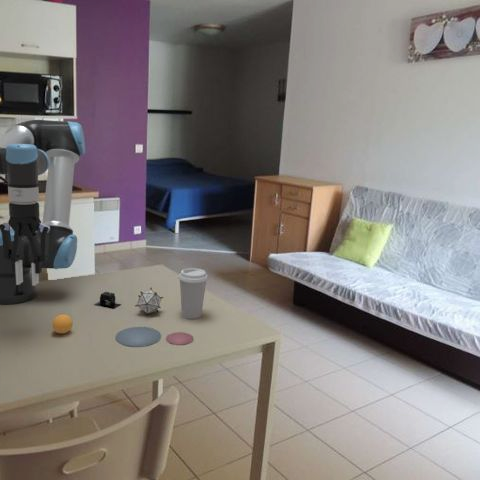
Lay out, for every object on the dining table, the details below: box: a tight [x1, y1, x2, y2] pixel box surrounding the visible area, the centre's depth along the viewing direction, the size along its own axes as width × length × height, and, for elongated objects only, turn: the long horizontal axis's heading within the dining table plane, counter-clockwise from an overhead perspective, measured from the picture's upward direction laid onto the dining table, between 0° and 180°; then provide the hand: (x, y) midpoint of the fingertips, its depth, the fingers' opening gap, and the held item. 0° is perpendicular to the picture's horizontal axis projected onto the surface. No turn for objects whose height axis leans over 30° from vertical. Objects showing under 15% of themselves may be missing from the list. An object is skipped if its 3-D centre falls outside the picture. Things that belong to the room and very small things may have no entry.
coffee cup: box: [177, 267, 209, 320], centre depth 155 cm, size 10×10×15 cm
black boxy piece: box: [93, 291, 122, 310], centre depth 161 cm, size 12×7×5 cm, turn 71°
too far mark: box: [165, 331, 194, 346], centre depth 140 cm, size 8×8×1 cm
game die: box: [134, 286, 164, 317], centre depth 156 cm, size 9×8×10 cm
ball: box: [51, 313, 73, 334], centre depth 138 cm, size 6×6×6 cm
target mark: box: [115, 326, 162, 348], centre depth 139 cm, size 13×13×1 cm
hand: (27, 283), depth 135 cm, fingers open, 4 cm apart
